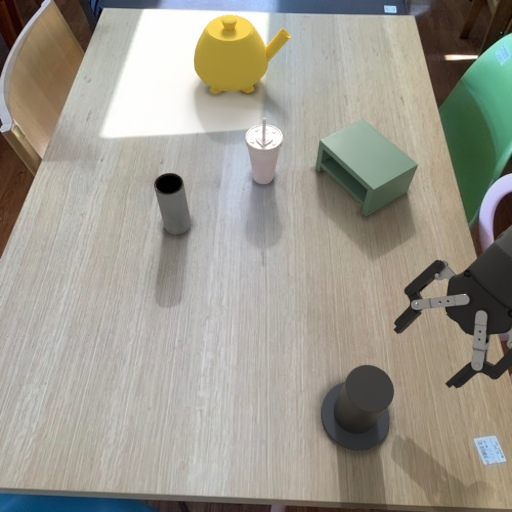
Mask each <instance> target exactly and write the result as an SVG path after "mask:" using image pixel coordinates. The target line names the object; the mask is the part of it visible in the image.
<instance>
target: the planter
mask: <svg viewBox="0 0 512 512" xmlns="http://www.w3.org/2000/svg"><path fill="white" fill-rule="evenodd" d="M153 187H154V192H155V196H156V200H157V203H158V204H157V205H158V207H159V211H160V215H161V219H162V223H163V226H164V229H165V231H166V232H167V233H169V234H170V235H175V236H177V235H178V236H179V235H182V234H185V233H186V232H187V231H189V229H190V228H191V225H192V224H191V223H192V221H191V216H190V210H189V205H188V204H189V203H188V199H187V193H186V187H185V182H184V179H183V178H182V176H180V175H179V174H177V173H176V172H175V173H174V172H166V173H163V174H160V175H159V176H158V177H156V179H155V180H154V183H153Z"/></svg>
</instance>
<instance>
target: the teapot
mask: <svg viewBox="0 0 512 512" xmlns="http://www.w3.org/2000/svg"><path fill="white" fill-rule="evenodd" d="M291 36H292V35H290V33H289V32H288V30H286V29H285V28H283V27H281V28H280V30H279V31H278V32H277V33H276V34H275V35H274V37H273V38H272V39H271V40H270V41H269V43H268V44H267V45H266V44H265V42H264V40H263V38H262V36H261V34H260V33H259V31H258V30H257V29H256V27H255V26H254V24H252V22H251V21H250V20H248V19H247V18H245V17H242V16H240V15H235V14H224V15H220V16H217V17H215V18H213V19H211V20H210V21H208V23H207V24H206V26H205V27H204V28H203V30H202V32H201V34H200V36H199V38H198V40H197V43H196V45H195V49H194V55H193V68H194V70H195V73H196V75H197V76H198V77H199V79H200V80H201V81H202V82H204V83H205V84H206V85H207V86H209V87H210V88H209V92H210V93H212V94H214V95H216V94H217V95H218V94H221V93H222V92H238V91H239V92H240V91H242V92H243V93H245V94H249V93H253V92H254V91H255V87H254V85H255V84H257V83H258V82H259V81H261V80H262V78H263V77H264V76H265V75H266V73H267V71H268V67H269V62H270V61H271V60H272V59H273V58H274V57H275V56H276V54H277V53H278V52H279V51H280V50H281V49H282V48H283V47H284V46H285V44H287V42H288V41H289V40H290V39H291V38H292V37H291Z"/></svg>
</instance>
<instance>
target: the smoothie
mask: <svg viewBox="0 0 512 512" xmlns="http://www.w3.org/2000/svg"><path fill="white" fill-rule="evenodd" d="M261 119H262V120H261V121H262V122H261V124H257V125H253V126H252V127H250V128H249V129H248V130H247V131H246V133H245V139H244V143H245V146H246V148H247V150H248V155H249V161H250V166H251V172H252V178H253V180H254V182H255V183H257V184H258V185H268V184H270V183H272V181H273V180H274V177H275V173H276V172H275V171H276V167H277V163H278V159H279V154H280V150H281V148H282V146H283V144H284V136H283V133H282V131H281V130H280V129H279V128H278V127H276V126H274V125H272V124H267V118H266V117H265V116H262V118H261Z"/></svg>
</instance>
